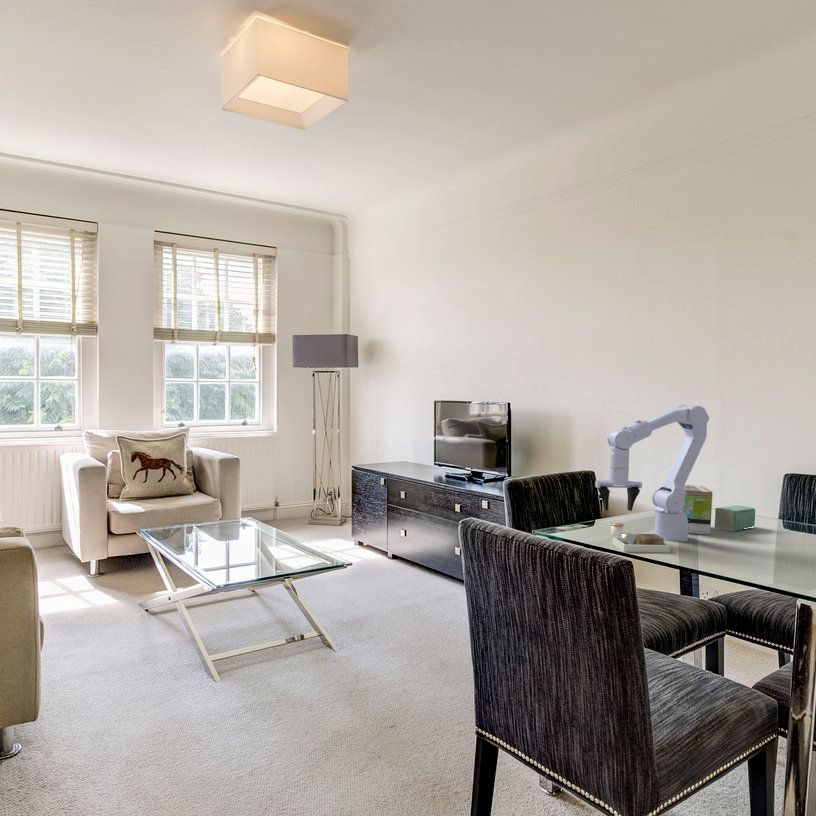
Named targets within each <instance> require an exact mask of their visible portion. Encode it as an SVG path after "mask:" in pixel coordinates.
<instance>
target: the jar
mask: <svg viewBox="0 0 816 816" xmlns="http://www.w3.org/2000/svg"><path fill="white" fill-rule="evenodd" d="M610 528H611V529H610V530H611V533H610V539H611V540H612V537H621V534H622V533H624V523H621V522H612V523H611V527H610Z"/></svg>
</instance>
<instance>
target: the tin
mask: <svg viewBox="0 0 816 816" xmlns="http://www.w3.org/2000/svg"><path fill="white" fill-rule="evenodd" d="M636 534H637V533H631V532H623V533H622V534H621V542H622V543H624V544H625V545H636V540H637V535H636Z"/></svg>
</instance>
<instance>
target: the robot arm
mask: <svg viewBox="0 0 816 816" xmlns="http://www.w3.org/2000/svg"><path fill="white" fill-rule="evenodd" d="M709 420H710V416H709V415H708V412H707V409H706V408H704V407H703V406H700V405H695V406H694V405H686V404H681V405H678V406H675V407H673V408H671V409H670V410H667V411H666V412H664V413H662V414H660V415H657V416H656V417H653V418H652V419H649V420H648V421H646V420H644V419H641V420H640V419H636V420H634V423H632V424H630V425H628V426H626V425H625V426H622V427H621V430H619V429H616V430H613V431H611V432H610V434H609V435H608V438H607V440H606V441H607V443H608V445H609V447H610V454H609V457H610V458H609V462H610V463H609V480H595V485H594V486H595V488H597V491H598V492H599V495H600V497H601V500H602V505H603V510H605V511H609V500H610V499H609V497H610V493H611V490H610V489H609V488H617V489H618V488H620V489H621V488H623V489H626V491H627V506H626V507H627V511H629V512H632V511H633V507H634V504H635V502H636V499H637V497H638V496H639V494H640V492H641V489H643V482H642V481H633V480H629V474H630V473H629V468H630V465H629V464H630V449H631V448H632V446H633V444H635V443H639V442H640V441H642V440H645V439H647V438H649V437H651V435H652V433H653V431H655V430H658V429H660V428H663V427H665V426H668V425H671V424H674V423H678V425H679V426H680V427H681V428H682V429H683V430H684V433H685V435H686V437H685V440H684V441H683V444H682V446H681V448H680V451H679V453H678V455H677V458H676V460H675V461H674V464H673V466H672V469H671V470H670V472H669V474H668V476H667V479H665V480H664V481H663V482H661V483H660V485H659V487H658V488H657V489H656V490H654V492H653V493H652V497H651V501H652V503H653V504H654V506H655V514H654V515H655V517H654V518H655V520H654V521H655V523H654V534H656V535H658V536H660V537H662V538H663V539H664V542H667V541H668V542H669V541H670V542H678V541H679V542H688V541H689V539H688V533H687V531H688V519H687V515H686V513H684V512H680V510H681V509H682V508H683V506H684V498H685V495H686V491H685V489H684V485H686V483H687V481H688V479H689V476H690V474H691V472H692V470H693V467H694V465H695V463H696V461H697V459H698V456H699V454H700V452H701V450H702V448H703V445H704V444H705V441H706V439H707V434H708V431H707V430H708V422H709Z"/></svg>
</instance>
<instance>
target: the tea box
mask: <svg viewBox="0 0 816 816" xmlns="http://www.w3.org/2000/svg"><path fill="white" fill-rule="evenodd" d="M684 489H685V491H686V495H685V498H684V506H683V508H682V509H681V510H680V512H684V513H686V515H687V519H688V531H687V534H696V535H710V534H711V528H712V527H711V526H712V524H711V523H712V510H713V509H712V508H713V507H712V506H713V491H712V490H710V489H708V488H706V486H705V487H704V486H702V485H694V484H692V485H691V484H685V485H684Z"/></svg>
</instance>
